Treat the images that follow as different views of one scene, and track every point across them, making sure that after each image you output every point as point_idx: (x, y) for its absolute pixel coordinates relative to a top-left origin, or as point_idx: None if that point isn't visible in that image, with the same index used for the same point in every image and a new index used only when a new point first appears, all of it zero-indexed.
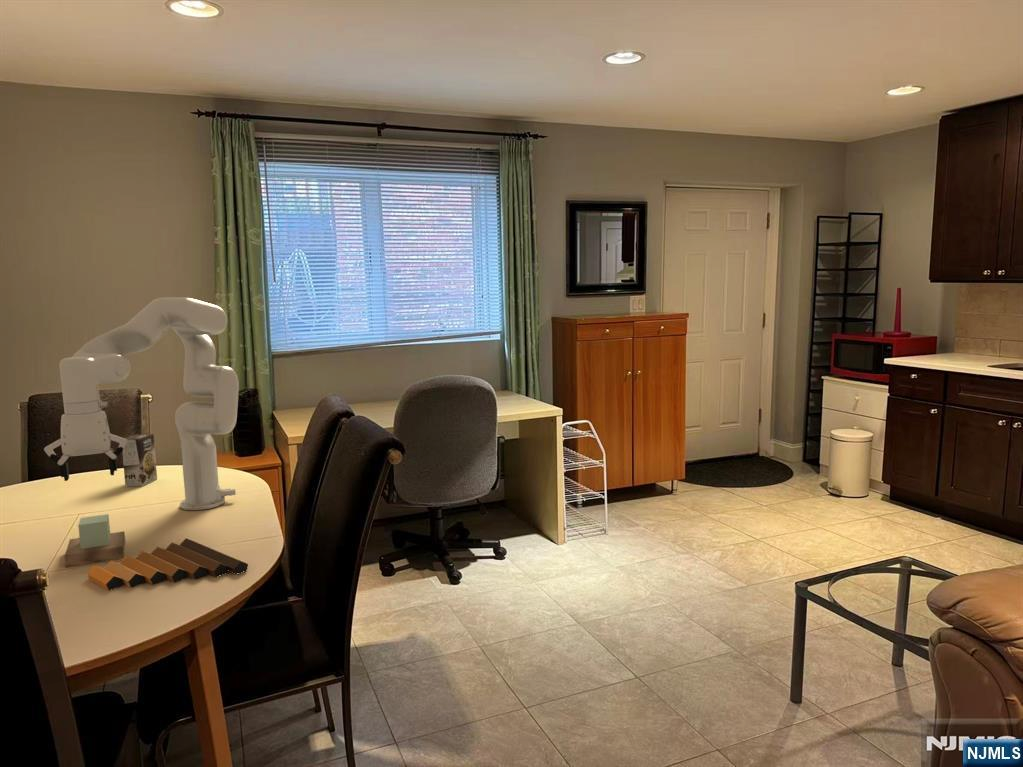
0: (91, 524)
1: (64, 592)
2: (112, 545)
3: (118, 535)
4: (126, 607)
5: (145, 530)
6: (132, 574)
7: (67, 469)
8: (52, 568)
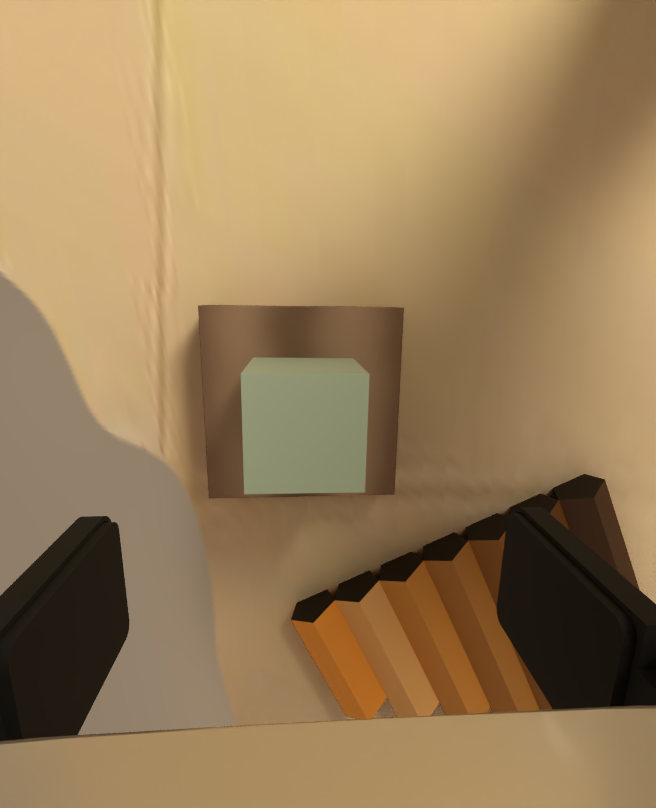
0: (299, 491)
1: (242, 665)
2: None
3: (381, 354)
4: None
5: (469, 183)
6: None
7: (72, 667)
8: (175, 466)
